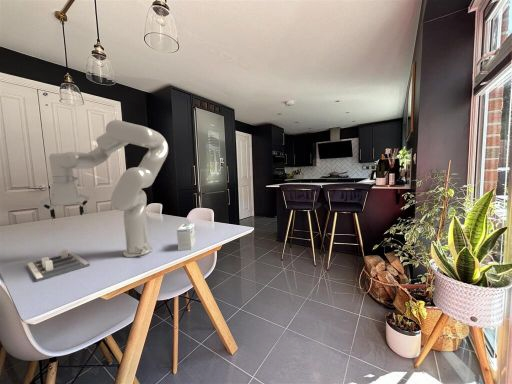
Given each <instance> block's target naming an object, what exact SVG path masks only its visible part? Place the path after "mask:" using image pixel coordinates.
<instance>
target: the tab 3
mask: <svg viewBox="0 0 512 384" xmlns="http://www.w3.org/2000/svg"><path fill="white" fill-rule="evenodd" d="M59 251H60V255H61V258H66V257H68V254H69V253H68V249H67V248H65V249H60V250H59Z"/></svg>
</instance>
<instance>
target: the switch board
mask: <svg viewBox="0 0 512 384" xmlns="http://www.w3.org/2000/svg"><path fill="white" fill-rule="evenodd" d="M49 260H52V262H53V269H52V270H49V271H46V270H45V267H42V259H40V260H37V261H34V262H32V261H31V262H28V263H26V267H27V269H28V271H29V272H30V274H31V276H32V277H33V278H34V280H35V282H40V281H44V280H48V279H51V278H54V277H58V276H60V275H64V274H67V273H70V271H71V272H74V271H77V270H80V269H84V268H86V267H90V262H88V261H86V260H85V259H84V258H83V257H81V256H80V255H78V254H77V253H75V252H74V251H72V252H69V253H68V257H66V258H61V254H60V255H57V256H52V257H49Z"/></svg>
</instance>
